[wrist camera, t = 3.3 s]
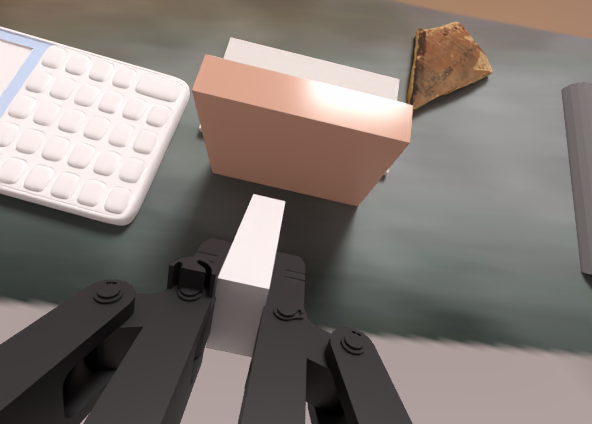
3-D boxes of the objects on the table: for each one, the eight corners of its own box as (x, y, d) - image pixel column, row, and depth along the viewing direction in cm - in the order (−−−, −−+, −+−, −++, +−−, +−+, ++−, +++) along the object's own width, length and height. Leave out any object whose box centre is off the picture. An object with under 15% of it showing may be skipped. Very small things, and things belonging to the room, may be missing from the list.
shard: (402, 119, 32) (411, 107, 31) (359, 58, 34) (365, 44, 32) (488, 81, 35) (500, 69, 33) (444, 27, 37) (453, 12, 35)
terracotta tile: (361, 177, 29) (413, 102, 20) (357, 206, 28) (409, 142, 19) (221, 144, 29) (206, 51, 19) (212, 173, 28) (192, 90, 18)
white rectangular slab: (396, 83, 33) (399, 79, 32) (386, 175, 29) (388, 172, 29) (231, 42, 32) (230, 37, 32) (199, 131, 29) (198, 127, 28)
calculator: (133, 232, 26) (124, 224, 24) (-132, 158, 25) (-161, 145, 24) (195, 92, 31) (192, 77, 29) (-28, 28, 30) (-45, 9, 28)
